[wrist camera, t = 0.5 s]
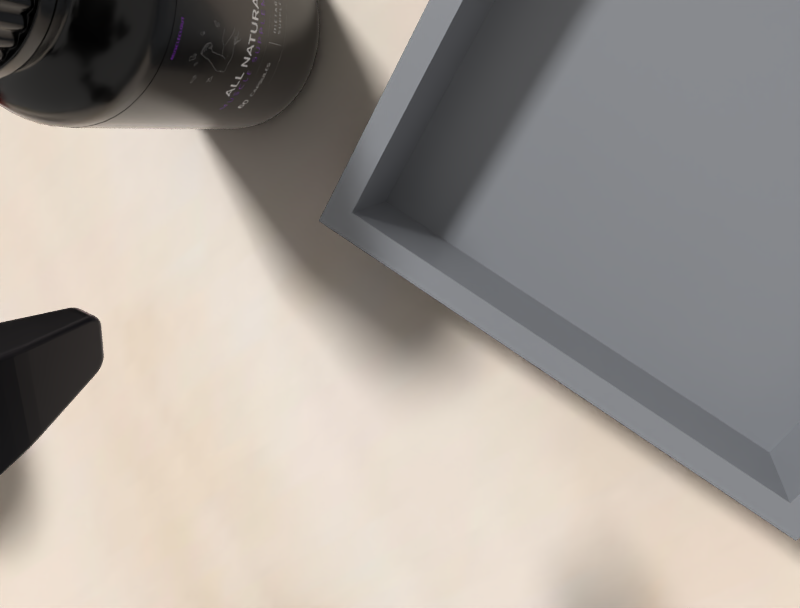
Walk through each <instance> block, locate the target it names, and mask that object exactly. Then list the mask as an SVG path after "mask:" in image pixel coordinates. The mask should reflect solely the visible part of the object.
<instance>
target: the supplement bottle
mask: <svg viewBox="0 0 800 608" xmlns="http://www.w3.org/2000/svg"><path fill="white" fill-rule="evenodd" d="M318 39H319V12H318V5H317V0H0V106H1V107H3V108H5V109H7V110H8V111H10V112H12V113H14V114H16V115H18V116H20V117H22V118H24V119H27V120H30V121H33V122H36V123H39V124H44V125H49V126H58V127H71V128H143V129H237V128H245V127H251V126H254V125H258V124H260V123H263V122H265V121H267V120H269V119H271V118H273V117H274V116H276V115H277V114H278V113H280V112H281V111H283V110H284V109H285V108H286V107H287V106H288V105H289V104H290V103H291V102H292V101H293V100H294V99H295V98H296V96H297V95H298V93H299V92H300V91H301V89H302V87H303V86H304V84H305V82H306V80H307V78H308V76H309V74H310V72H311V69H312V66H313V64H314V60H315V56H316V52H317V47H318Z"/></svg>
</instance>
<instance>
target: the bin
mask: <svg viewBox="0 0 800 608" xmlns="http://www.w3.org/2000/svg"><path fill="white" fill-rule="evenodd" d="M319 221H320V222H321V223H323V224H324V225H326V226H327V227H329V228H330V229H332V230H333V231H334V232H336V233H337V234H339V235H340V236H342V237H343V238H345V239H346V240H348V241H349V242H351V243H352V244H354V245H355V246H357V247H358V248H360V249H361V250H363V251H364V252H366V253H367V254H369V255H370V256H372V257H373V258H375V259H376V260H378V261H379V262H381V263H382V264H384V265H385V266H387V267H388V268H390V269H391V270H393V271H394V272H396V273H397V274H399V275H400V276H402V277H403V278H405V279H406V280H408V281H409V282H411V283H412V284H414V285H415V286H417V287H418V288H420V289H421V290H423V291H424V292H426V293H427V294H428V295H430V296H431V297H433V298H434V299H436V300H437V301H439V302H440V303H442V304H443V305H445V306H446V307H448V308H449V309H451V310H452V311H454V312H455V313H457V314H458V315H460V316H461V317H463V318H464V319H466V320H467V321H469V322H470V323H472V324H473V325H475V326H476V327H478V328H479V329H481V330H482V331H484V332H485V333H487V334H488V335H490V336H491V337H493V338H494V339H496V340H497V341H499V342H500V343H502V344H503V345H505V346H506V347H508V348H509V349H511V350H512V351H514V352H515V353H517V354H518V355H519V356H521V357H522V358H524V359H525V360H527V361H528V362H530V363H531V364H533V365H534V366H536V367H537V368H539V369H540V370H542V371H543V372H545V373H546V374H548V375H549V376H551V377H552V378H554V379H555V380H557V381H558V382H560V383H561V384H563V385H564V386H566V387H567V388H569V389H570V390H572V391H573V392H575V393H576V394H578V395H579V396H581V397H582V398H584V399H585V400H587V401H588V402H590V403H591V404H593V405H594V406H596V407H597V408H599V409H600V410H602V411H603V412H605V413H606V414H608V415H609V416H611V417H612V418H613V419H615V420H616V421H618V422H619V423H621V424H622V425H624V426H625V427H627V428H628V429H630V430H631V431H633V432H634V433H636V434H637V435H639V436H640V437H642V438H643V439H645V440H646V441H648V442H649V443H651V444H652V445H654V446H655V447H657V448H658V449H660V450H661V451H663V452H664V453H666V454H667V455H669V456H670V457H672V458H673V459H675V460H676V461H678V462H679V463H681V464H682V465H684V466H685V467H687V468H688V469H690V470H691V471H693V472H694V473H696V474H697V475H699V476H700V477H702V478H703V479H705V480H706V481H707V482H709V483H710V484H712V485H713V486H715V487H716V488H718V489H719V490H721V491H722V492H724V493H725V494H727V495H728V496H730V497H731V498H733V499H734V500H736V501H737V502H739V503H740V504H742V505H743V506H745V507H746V508H748V509H749V510H751V511H752V512H754V513H755V514H757V515H758V516H760V517H761V518H763V519H764V520H766V521H767V522H769V523H770V524H772V525H773V526H775V527H776V528H778V529H779V530H781V531H782V532H784V533H785V534H787V535H788V536H790V537H791V538H793V539H794V540H798V539H799V538H800V0H429V2H428V4H427V6H426V8H425V10H424V12H423V14H422V16H421V18H420V20H419V22H418V24H417V26H416V28H415V30H414V32H413V34H412V36H411V38H410V40H409V42H408V44H407V46H406V48H405V50H404V52H403V54H402V56H401V58H400V60H399V62H398V64H397V66H396V68H395V70H394V72H393V74H392V76H391V78H390V80H389V82H388V84H387V86H386V88H385V90H384V92H383V94H382V96H381V98H380V100H379V102H378V104H377V106H376V108H375V110H374V112H373V114H372V116H371V118H370V120H369V122H368V124H367V126H366V128H365V130H364V132H363V134H362V136H361V138H360V140H359V142H358V144H357V146H356V148H355V150H354V152H353V154H352V156H351V158H350V160H349V162H348V164H347V166H346V168H345V170H344V172H343V174H342V176H341V178H340V180H339V182H338V184H337V186H336V188H335V190H334V192H333V193H332V195H331V197H330V199H329V201H328V203H327V205H326V207H325V209H324V211H323V213H322V215H321V217H320V219H319Z"/></svg>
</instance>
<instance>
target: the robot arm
mask: <svg viewBox="0 0 800 608" xmlns="http://www.w3.org/2000/svg"><path fill="white" fill-rule="evenodd" d="M103 358H104V354H103V342H102V330H101V323H100V321H99V319H98V318H97V317H95V316H93V315H91V314H89V313H87V312H85V311H83V310H81V309H78V308H67V309H62V310H57V311H53V312H48V313H43V314H39V315H34V316H29V317H25V318H20V319H15V320H11V321H6V322H1V323H0V475H1V474H2V473H3V472H4V471H5V470H6V469H7V468H9V467H10V466H11V465H12V464H13V463H14V462H15V461H16V460H17V459H18V458H19V457H20V456H21V455H22V454H23V453H24V452H25V451H27V450H28V449H29V448H30V447H31V446H32V445H33V443H34V442H35V441H36V440H37V439H38V438H39V437H40V436H41V435H42V434H43V433H44V432H45V431H46V429H47V428H48V427H49V426H50V425H51V424H52V423H53V422H54V420H55V419H56V418H57V417H58V416H59V415H60V414H61V413H62V411H63V410H64V409H65V408H66V407H67V406H68V405H69V404H70V402H71V401H72V400H73V399H74V398H75V397H76V396H77V395H78V393H79V392H80V391H81V390H82V389H83V388H84V387H85V386H86V385H87V383H88V382H89V381H90V380H91V379H92V378H93V377H94V376H95V374H96V373H97V372H98V370H99V369H100V367H101V365H102V363H103Z"/></svg>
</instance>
